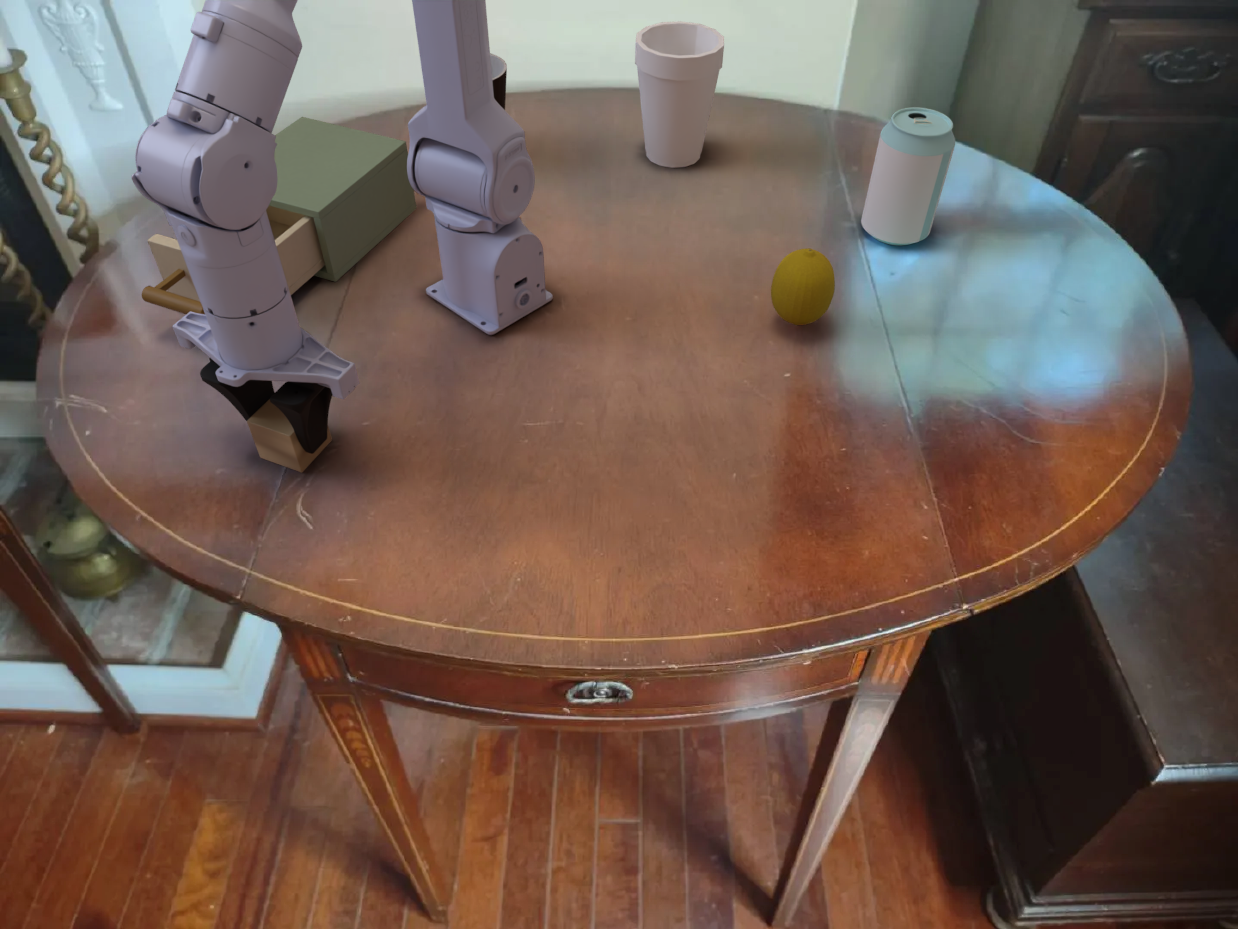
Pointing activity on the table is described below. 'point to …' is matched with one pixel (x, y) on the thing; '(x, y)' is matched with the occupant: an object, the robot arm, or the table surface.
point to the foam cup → (677, 88)
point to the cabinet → (342, 187)
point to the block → (280, 439)
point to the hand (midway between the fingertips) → (292, 436)
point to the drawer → (292, 243)
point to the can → (908, 176)
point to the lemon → (803, 286)
